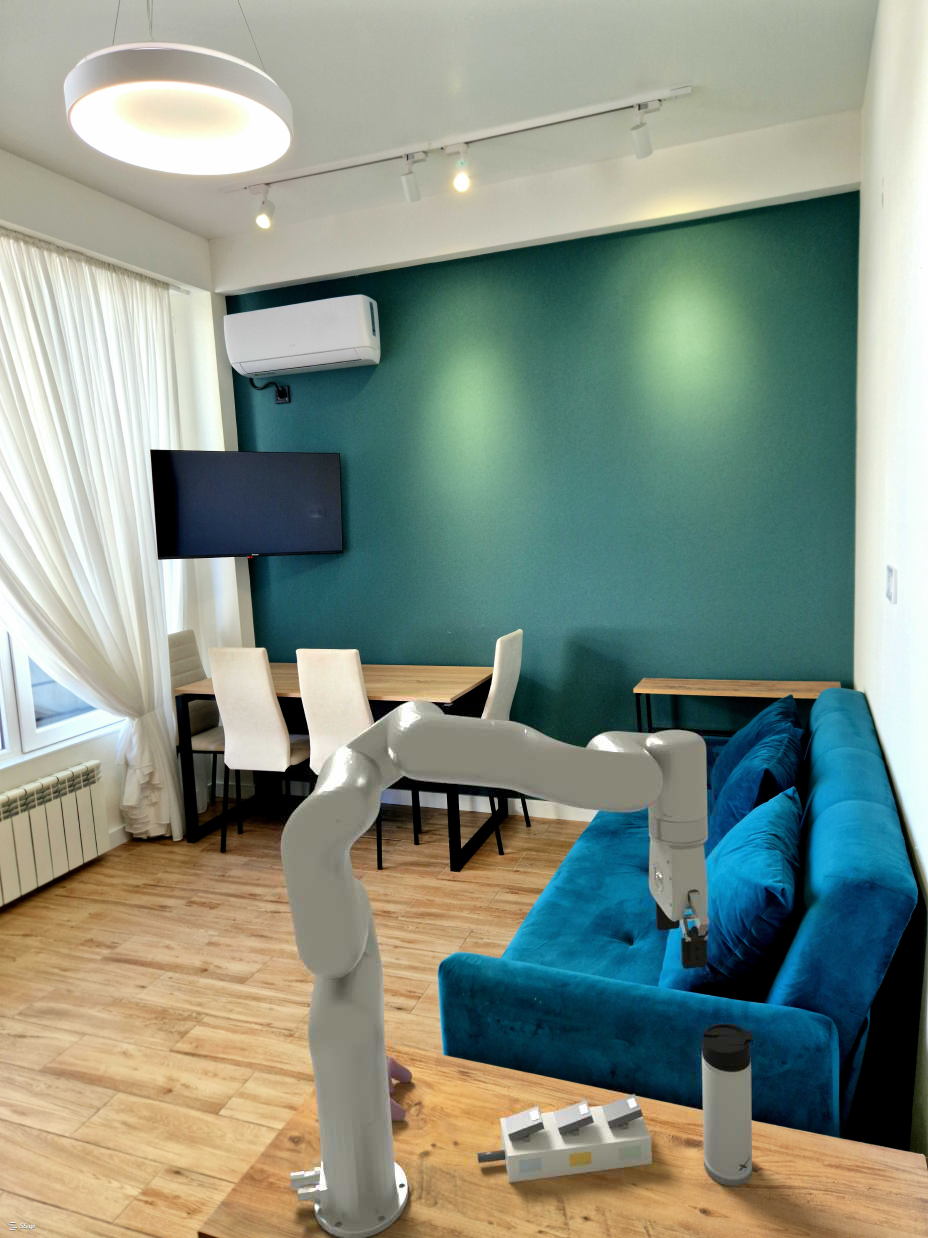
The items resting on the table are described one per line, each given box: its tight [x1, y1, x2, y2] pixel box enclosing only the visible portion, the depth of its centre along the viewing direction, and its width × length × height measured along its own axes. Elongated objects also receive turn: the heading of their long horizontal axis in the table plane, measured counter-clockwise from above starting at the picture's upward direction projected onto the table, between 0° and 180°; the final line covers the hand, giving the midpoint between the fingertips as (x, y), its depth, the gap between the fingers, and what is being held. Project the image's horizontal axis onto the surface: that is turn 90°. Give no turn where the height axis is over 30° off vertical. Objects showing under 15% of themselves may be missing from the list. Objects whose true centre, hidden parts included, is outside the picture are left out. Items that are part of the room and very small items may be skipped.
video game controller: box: [386, 1055, 413, 1122], centre depth 127 cm, size 10×5×7 cm, turn 177°
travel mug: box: [701, 1023, 754, 1187], centre depth 109 cm, size 6×7×20 cm
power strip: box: [476, 1104, 653, 1184], centre depth 114 cm, size 24×7×5 cm, turn 96°
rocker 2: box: [601, 1093, 644, 1129], centre depth 115 cm, size 5×3×1 cm, turn 95°
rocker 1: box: [504, 1105, 545, 1141], centre depth 114 cm, size 5×3×1 cm, turn 95°
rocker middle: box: [552, 1099, 594, 1135], centre depth 114 cm, size 5×3×1 cm, turn 95°
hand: (680, 947), depth 109 cm, fingers open, 9 cm apart
